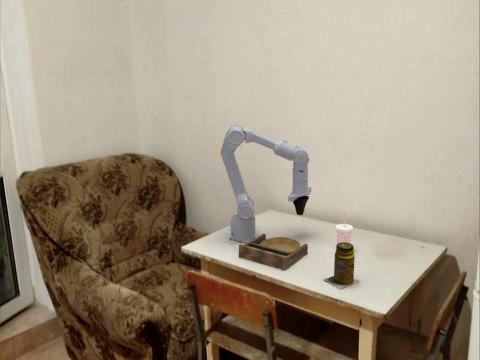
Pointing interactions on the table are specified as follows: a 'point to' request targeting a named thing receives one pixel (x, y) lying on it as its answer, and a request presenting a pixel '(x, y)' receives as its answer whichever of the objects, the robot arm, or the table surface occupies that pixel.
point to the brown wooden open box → (271, 254)
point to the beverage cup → (344, 232)
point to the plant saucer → (282, 244)
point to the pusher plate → (268, 249)
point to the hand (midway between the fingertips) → (299, 214)
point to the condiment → (343, 266)
